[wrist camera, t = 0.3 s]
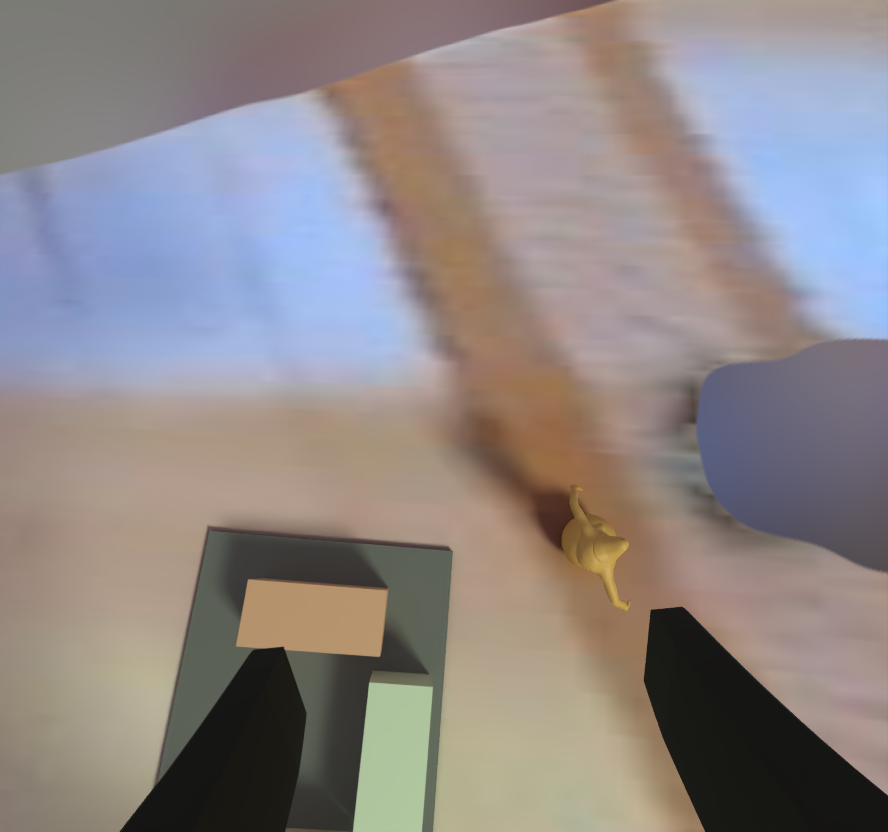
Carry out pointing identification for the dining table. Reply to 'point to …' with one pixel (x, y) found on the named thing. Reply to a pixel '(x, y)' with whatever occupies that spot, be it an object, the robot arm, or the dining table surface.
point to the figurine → (593, 546)
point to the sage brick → (394, 753)
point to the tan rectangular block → (313, 617)
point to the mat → (318, 656)
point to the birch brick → (310, 830)
